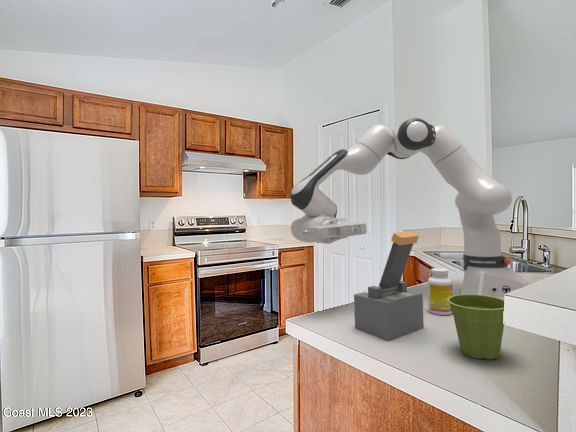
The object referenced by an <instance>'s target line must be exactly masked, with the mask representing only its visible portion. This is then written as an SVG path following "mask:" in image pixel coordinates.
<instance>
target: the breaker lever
mask: <svg viewBox="0 0 576 432" xmlns="http://www.w3.org/2000/svg"><path fill="white" fill-rule="evenodd" d="M419 237H420V235H418V234H417V233H414V232H413V231H401V232H394V233H392V236H391V240H390V241H391V242H392V245H391V249H390V251H389V254H388V258H387V259H386V264H385V267H384V269H383V272H382V275H381V278H380V281H379V284H378V287H380V288H382V294H384V293H388V292H392V291H396V290H398V286H399V283H400V281H401V279H402V277H403V274H404V271H405V268H406V266H407V262H408V259H409V257H410V254H411V251H412V250H413V246H414V244H417V243H418V239H419Z"/></svg>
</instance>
